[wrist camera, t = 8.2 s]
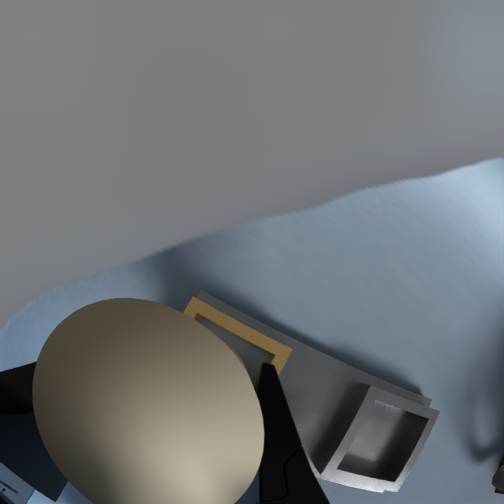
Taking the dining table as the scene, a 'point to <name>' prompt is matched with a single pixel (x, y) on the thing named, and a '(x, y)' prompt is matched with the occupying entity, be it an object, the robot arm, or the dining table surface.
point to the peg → (147, 407)
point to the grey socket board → (330, 402)
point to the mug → (499, 478)
